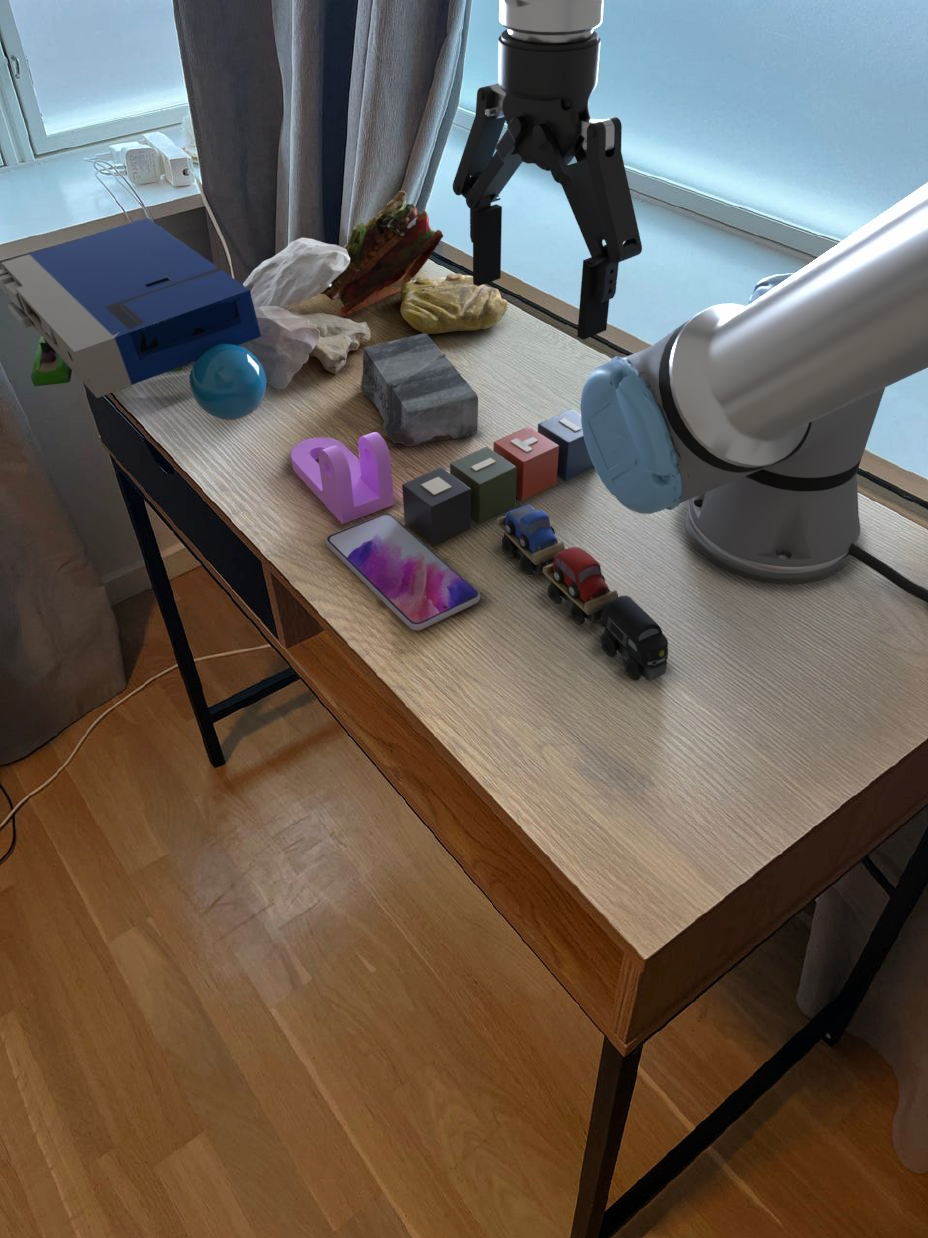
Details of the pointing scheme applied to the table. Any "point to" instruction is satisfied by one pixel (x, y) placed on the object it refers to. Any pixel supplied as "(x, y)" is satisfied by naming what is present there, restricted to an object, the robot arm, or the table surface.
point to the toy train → (586, 592)
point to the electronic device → (127, 304)
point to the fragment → (296, 273)
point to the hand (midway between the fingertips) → (536, 306)
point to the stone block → (418, 391)
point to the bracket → (346, 474)
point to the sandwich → (384, 255)
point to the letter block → (530, 460)
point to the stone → (335, 338)
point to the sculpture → (450, 304)
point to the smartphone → (402, 571)
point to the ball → (228, 381)
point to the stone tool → (282, 343)
